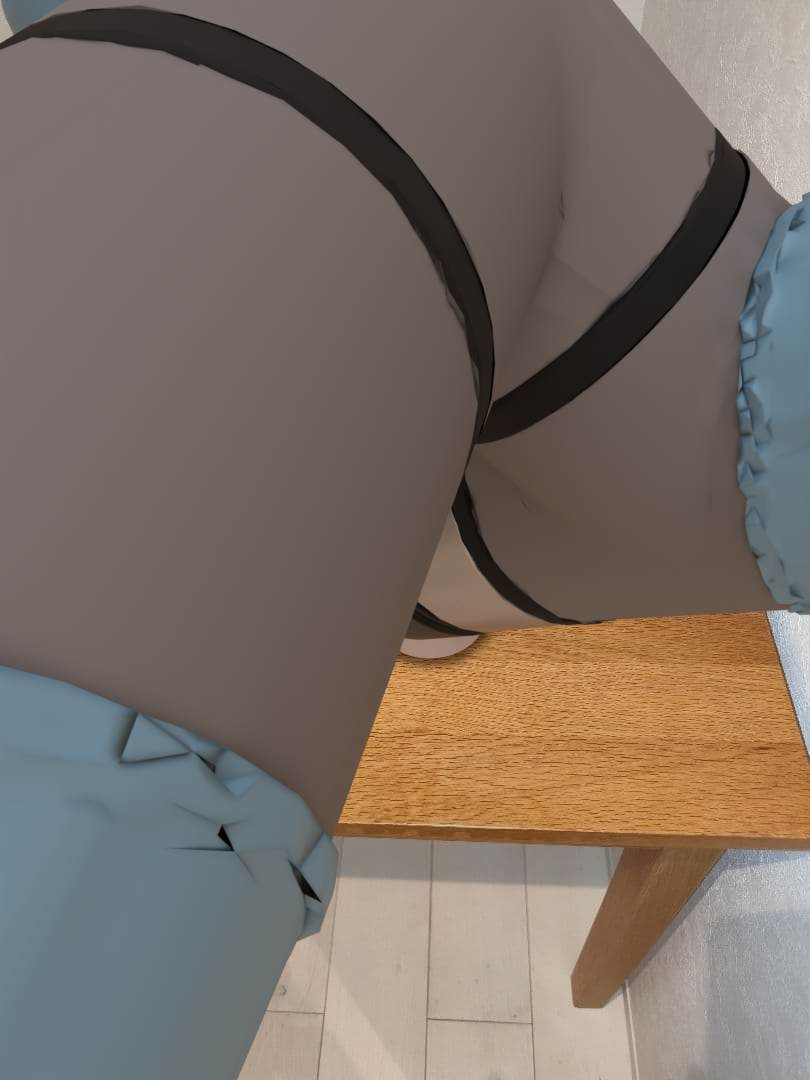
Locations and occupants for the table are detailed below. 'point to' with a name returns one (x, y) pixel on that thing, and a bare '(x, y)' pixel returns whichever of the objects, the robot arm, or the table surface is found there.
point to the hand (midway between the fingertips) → (237, 582)
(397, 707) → the table surface
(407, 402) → the robot arm
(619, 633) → the table surface
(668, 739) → the table surface
